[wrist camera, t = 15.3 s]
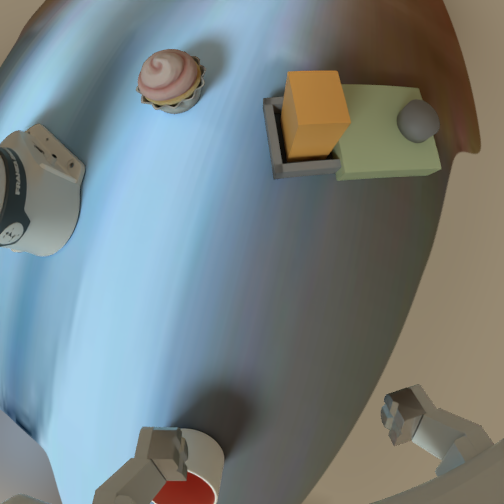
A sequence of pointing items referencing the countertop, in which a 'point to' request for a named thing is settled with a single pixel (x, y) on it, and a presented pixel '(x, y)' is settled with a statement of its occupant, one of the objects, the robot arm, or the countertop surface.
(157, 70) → the cupcake
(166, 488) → the cup
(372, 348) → the countertop surface
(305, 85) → the tall orange pillar
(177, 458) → the robot arm
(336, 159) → the green drawer box
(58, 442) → the countertop surface
